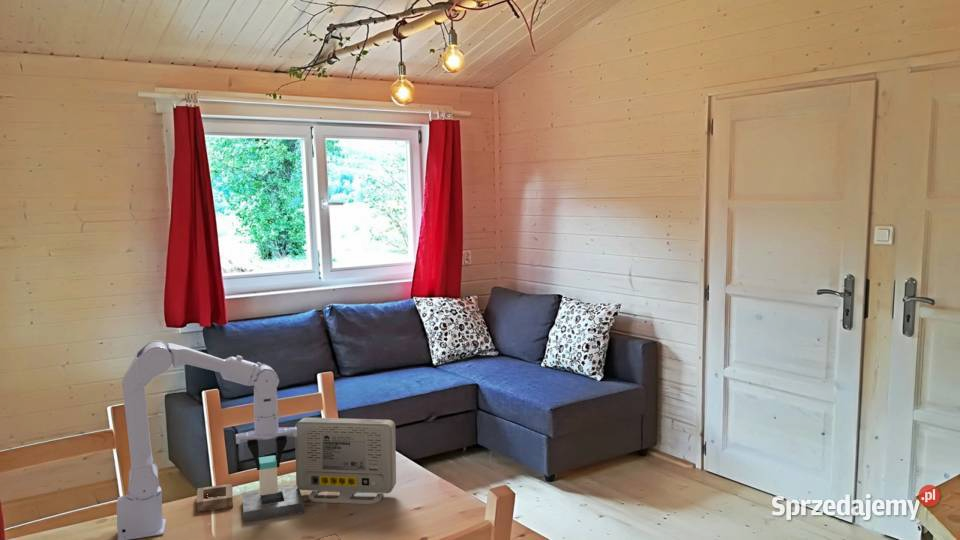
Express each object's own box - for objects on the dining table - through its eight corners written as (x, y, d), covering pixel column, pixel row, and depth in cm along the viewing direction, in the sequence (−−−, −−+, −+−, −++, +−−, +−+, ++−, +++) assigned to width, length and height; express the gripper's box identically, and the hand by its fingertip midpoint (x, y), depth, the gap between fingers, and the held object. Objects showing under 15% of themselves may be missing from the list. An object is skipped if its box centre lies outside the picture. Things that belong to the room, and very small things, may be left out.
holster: (196, 512, 169) (196, 502, 169) (197, 497, 178) (197, 488, 178) (232, 506, 172) (232, 497, 172) (232, 492, 181) (231, 483, 181)
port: (244, 522, 163) (243, 512, 163) (242, 502, 175) (241, 493, 174) (303, 512, 168) (303, 502, 168) (298, 494, 180) (298, 485, 179)
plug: (261, 495, 169) (259, 463, 168) (259, 488, 173) (258, 457, 173) (277, 492, 170) (276, 461, 170) (276, 485, 175) (275, 455, 174)
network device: (398, 491, 181) (397, 417, 180) (390, 505, 172) (389, 427, 171) (304, 487, 184) (302, 414, 182) (292, 501, 175) (290, 424, 173)
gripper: (235, 422, 163) (237, 477, 165) (297, 415, 169) (299, 468, 170) (234, 414, 170) (236, 467, 171) (294, 407, 175) (296, 459, 176)
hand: (268, 467), depth 171 cm, fingers closed on plug, 4 cm apart
